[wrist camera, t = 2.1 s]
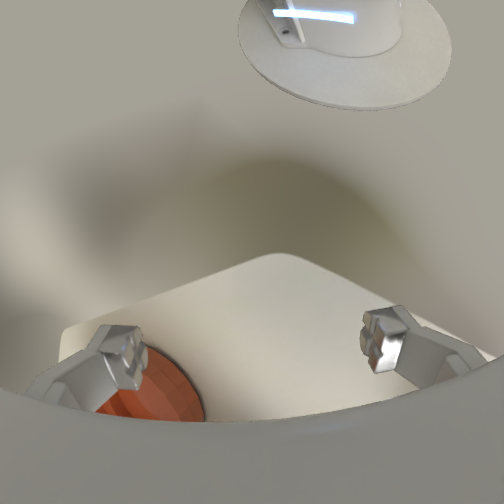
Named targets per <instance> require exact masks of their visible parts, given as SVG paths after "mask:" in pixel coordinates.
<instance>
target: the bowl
mask: <svg viewBox="0 0 504 504" xmlns="http://www.w3.org/2000/svg"><path fill="white" fill-rule="evenodd" d="M146 348H147V352H148V365H147V368H146V370H144V371H143V372H142V376H143V380H142V383H141V386H140V388H139V390H123V389H118V391H117V392H116V393H115V394H114V395H112V396H111V397H110V398H109V399H108V400H107V401H106V402H105V403H104V404H103V405H102V406H101V407H99V408H98V409H97V410H96V411H95V412H96V413H102V414H108V415H114V416H122V417H129V418H138V419H148V420H161V421H177V422H204V413H203V410H202V407H201V404H200V400H199V397H198V395H197V394H196V392H195V391H194V389H193V387H192V386H191V384H190V382H189V381H188V379H187V378H186V377H185V376H184V375H183V374H182V372H181V371H180V370H179V369H178V368H177V367H176V366H175V365H174V364H173V363H172V362H171V361H170V360H168V359H167V358H165V357H164V356H162V355H161V354H160V353H158V352H157V351H155V350H153V349H150V348H148V347H146Z"/></svg>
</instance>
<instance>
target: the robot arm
mask: <svg viewBox="0 0 504 504" xmlns="http://www.w3.org/2000/svg"><path fill="white" fill-rule="evenodd" d="M254 1H255V3H256V4H257V6H258V7H259V9H260V10H261V12H262V14H263V15H264V17H265V19H266V20H267V22H268V24H269V25H270V27H271V29H272V30H273V32H274V34H275V36H276V37H277V39H278V41H279V43H280V44H281V46H283V47H284V48H288V49H307V48H309V49H314V50H318V51H321V52H324V53H327V54H331V55H336V56H343V57H367V56H373V55H377V54H380V53H383V52H385V51H387V50H389V49H391V48H392V47H393V46H395V45H396V44H397V42H398V41H399V39H400V38H401V35H402V21H401V15H400V11H401V8H402V0H254ZM285 33H288V34H285ZM363 323H364V324H365V326H364V327H363V329H362V330H361V332H360V347H361V350H362V352H363V354H364V355H366V356H368V357H369V360H368V363H369V365H370V367H371V369H372V371H373V373H374V374H377V373H382V372H387V371H392V370H395V372H397V373H398V374H400V375H401V376H403V377H404V378H406V379H407V380H408V381H410V382H411V383H413V384H414V385H416V386H417V387H419V388H420V390H417V391H414V392H411V393H407V394H404V395H401V396H397V397H394V398H390V399H386V400H383V401H379V402H375V403H370V404H366V405H362V406H357V407H353V408H348V409H343V410H337V411H332V412H326V413H320V414H313V415H306V416H299V417H291V418H282V419H271V420H259V421H242V422H177V421H161V420H148V419H138V418H129V417H122V416H114V415H108V414H102V413H96V412H95V411H96V410H97V409H98V408H99V407H101V406H102V405H103V404H104V403H105V402H106V401H107V400H108V399H109V398H110V397H111V396H112V395H114V394H115V393H116V392H117V391H118V389H123V390H139V388H140V386H141V383H142V380H143V376H142V372H143V371H144V370H146V368H147V365H148V352H147V348H146V345H145V344H144V343H143V342H142V341H141V338H142V336H143V335H142V332H141V329H140V328H139V327H138V326H122V325H101V326H100V327H99V329H98V330H97V332H96V333H95V335H94V337H93V338H92V340H91V341H90V343H89V344H88V346H87V348H86V349H85V350H80V351H79V352H77V353H75V354H73V355H72V356H70V357H68V358H67V359H65V360H63V361H61V362H60V363H58V364H56V365H54V366H53V367H51V368H49V369H48V370H46V371H44V372H42V373H41V374H39V375H37V376H36V377H35V379H34V381H33V382H32V384H31V385H30V387H29V388H28V390H27V391H26V393H25V395H22V394H19V393H16V392H13V391H10V390H7V389H4V388H2V387H0V504H504V355H503V356H501V357H499V358H497V359H494V360H492V361H490V362H487V360H486V359H485V358H484V357H483V356H482V355H481V354H480V353H479V351H478V350H477V349H476V348H475V347H474V346H472V345H470V344H467V343H465V342H462V341H460V340H457V339H455V338H452V337H450V336H447V335H445V334H442V333H440V332H437V331H435V330H432V329H430V328H427V327H421V326H420V325H419V323H418V322H417V321H416V320H415V319H414V318H413V317H412V316H411V314H410V313H409V312H408V311H407V310H406V309H405V308H404V307H403V306H401V305H397V306H392V307H389V308H383V309H377V310H371V311H365V313H364V315H363Z"/></svg>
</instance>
